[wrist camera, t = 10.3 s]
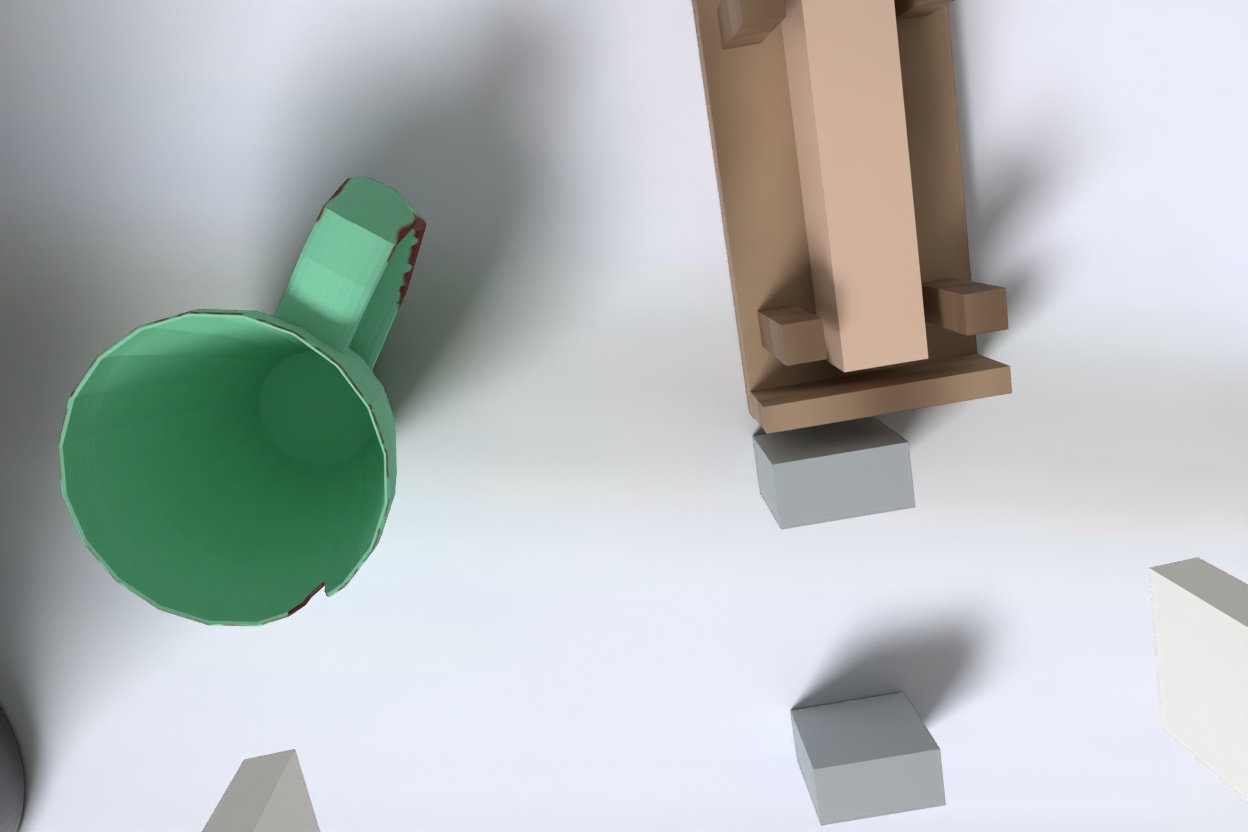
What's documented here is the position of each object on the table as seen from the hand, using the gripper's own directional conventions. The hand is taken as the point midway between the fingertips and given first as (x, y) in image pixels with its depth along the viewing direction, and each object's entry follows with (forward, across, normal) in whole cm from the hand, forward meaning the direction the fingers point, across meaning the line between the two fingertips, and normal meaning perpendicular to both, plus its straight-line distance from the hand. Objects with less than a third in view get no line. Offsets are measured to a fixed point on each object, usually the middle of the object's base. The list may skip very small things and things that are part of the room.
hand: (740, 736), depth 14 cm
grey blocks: (+24, +7, -10) cm, 27 cm away
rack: (+24, +10, +8) cm, 27 cm away
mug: (+25, -11, +4) cm, 28 cm away
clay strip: (+23, +9, +8) cm, 26 cm away
